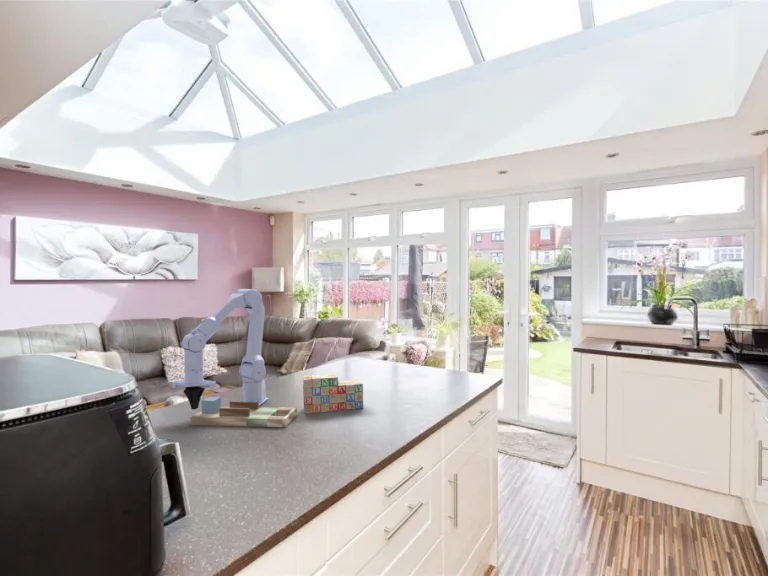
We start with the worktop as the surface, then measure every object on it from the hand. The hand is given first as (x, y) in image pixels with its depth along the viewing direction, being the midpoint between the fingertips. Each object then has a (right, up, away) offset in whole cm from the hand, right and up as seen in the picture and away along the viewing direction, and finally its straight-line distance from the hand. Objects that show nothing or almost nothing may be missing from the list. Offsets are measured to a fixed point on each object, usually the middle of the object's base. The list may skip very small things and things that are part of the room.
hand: (194, 408), depth 141 cm
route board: (+18, -3, -2) cm, 18 cm away
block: (+6, -1, -1) cm, 6 cm away
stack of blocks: (+46, -3, +9) cm, 47 cm away
